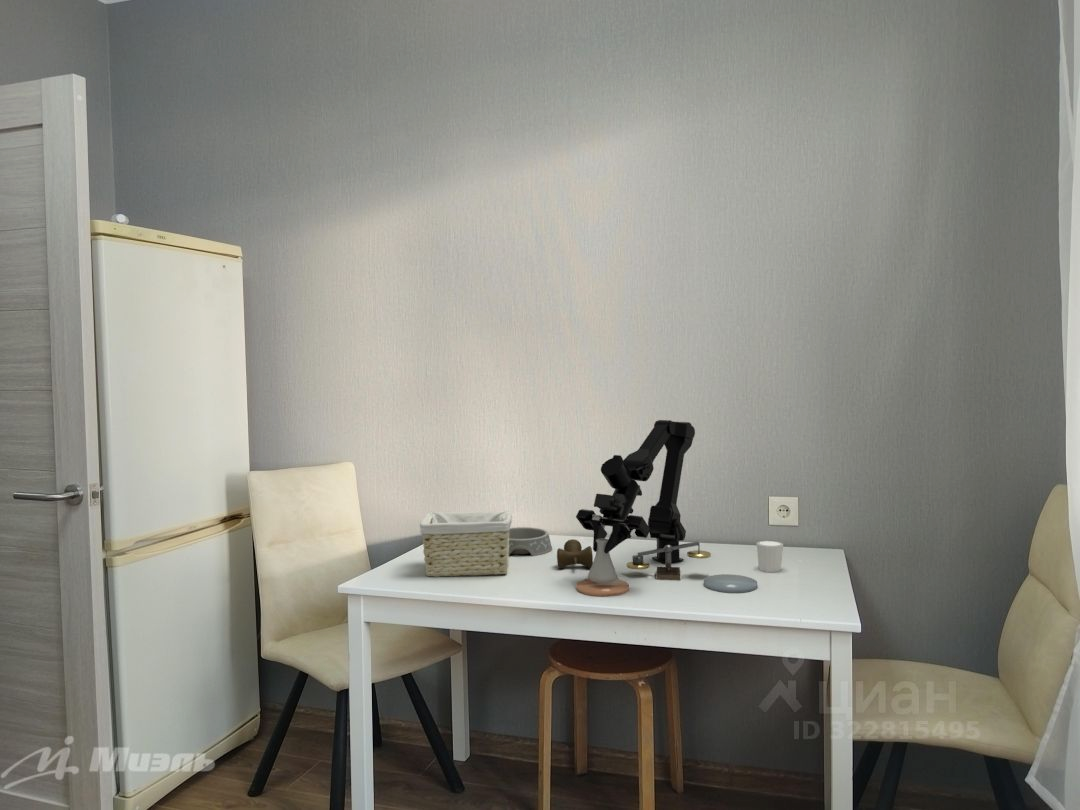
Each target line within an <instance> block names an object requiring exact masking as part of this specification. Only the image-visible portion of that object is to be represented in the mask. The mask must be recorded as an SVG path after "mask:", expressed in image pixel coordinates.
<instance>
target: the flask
mask: <svg viewBox="0 0 1080 810" xmlns="http://www.w3.org/2000/svg"><path fill="white" fill-rule="evenodd" d="M608 539H609V538H606V537H605V538H599V539H596V542H597V551H596V552H595V556H594V557H593V564H592V567H591V568H589V572H588V574H587V578H586V579H589V580H591V581H595V582H601V583H604V582H613V581H615V580H617V579H619V578H618V574H617V572H616V568H615V567H614V564H613V561H612V558H611V554H610V552H608V553H607V554H606V553H605V552H604V550H605V546H606V544H607V542H608Z"/></svg>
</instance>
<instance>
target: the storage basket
mask: <svg viewBox="0 0 1080 810" xmlns="http://www.w3.org/2000/svg"><path fill="white" fill-rule="evenodd" d="M512 518H513V517H512V513H511V511H510V510H501V511H500V510H499V511H497V510H496V511H495V510H494V511H493V510H489V511H488V510H486V511H485V510H484V511H483V510H482V511H430V512H428V513H427V514H426V515H425V516H424V517H423V518H422V520H421V521H420V523H419V530H420V534H421V536H422V542H423V543H422V544H423V545H422V546H423V550H422V551H423V556H424V559H423V561H424V563H425V566H424V567H425V574H426V577H434V578H435V577H436V578H437V577H460V576H474V577H475V576H486V575H487V576H490V575H504V574H505V575H506V574H508V572H509V571H508V570H509V561H510V560H509V558H510V555H509V532H510V528H511V526H512V521H513V520H512Z"/></svg>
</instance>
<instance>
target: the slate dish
mask: <svg viewBox="0 0 1080 810" xmlns="http://www.w3.org/2000/svg"><path fill="white" fill-rule="evenodd" d="M703 587H705V588H706V589H708V590H710V591H714V592H720V593H727V594H744V593H751V592H754V591H755V590H757V589H758V581H757V580H756V579H755V578H752V577H749V576H745V575H740V574H713V575H709V576H706V577H704V579H703Z"/></svg>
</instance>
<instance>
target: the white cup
mask: <svg viewBox="0 0 1080 810" xmlns="http://www.w3.org/2000/svg"><path fill="white" fill-rule="evenodd" d="M783 551H784V543H783V542H780V541H777V540H776V541H775V540H760V541H757V542H756V553H757V562H758V569H759V570H760V571H761V572H766V573H767V572H768V573H776V572H781V570H782V561H783Z"/></svg>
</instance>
